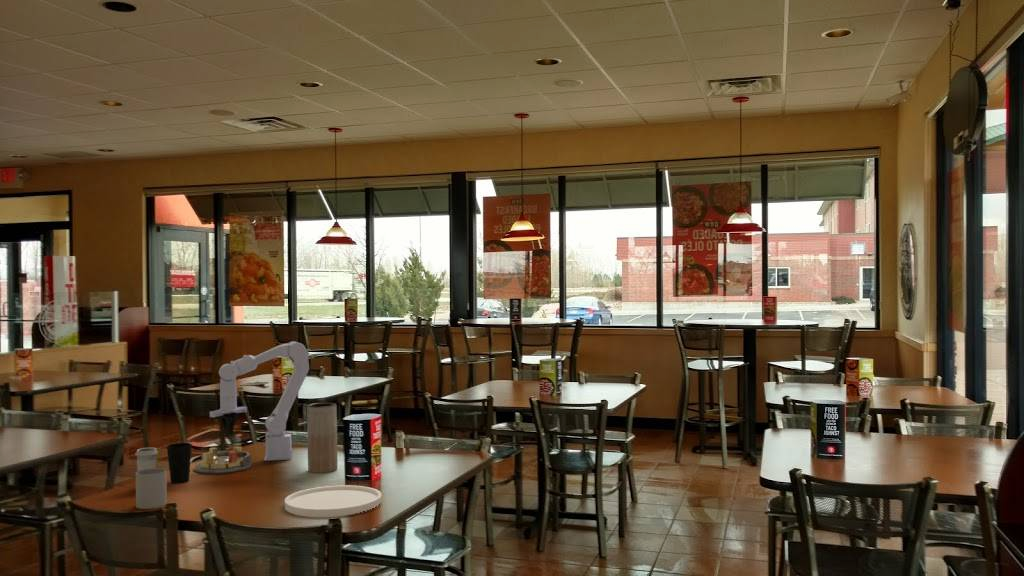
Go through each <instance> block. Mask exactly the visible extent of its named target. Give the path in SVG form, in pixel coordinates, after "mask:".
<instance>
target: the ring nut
mask: <svg viewBox="0 0 1024 576" xmlns="http://www.w3.org/2000/svg"><path fill="white" fill-rule="evenodd" d="M231 451H232V452H229V456H220V457H219V456H218V455H217V452H218V447H210V448H209V451H208V452H203V453H202V454H203V460H202V459H201V461H200V462H199V464H200V467H201V468H206V469H226V468H233V467H238V466H241V465H243V457H242V451H243V447H242V446H235V447H233V450H231ZM223 457H229V462H226V463H213V459H216V458H223Z"/></svg>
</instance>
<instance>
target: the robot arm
mask: <svg viewBox="0 0 1024 576" xmlns="http://www.w3.org/2000/svg"><path fill="white" fill-rule="evenodd" d="M278 357H280V358H289V359H290V361H291V363H292V365H293V367H294V370H293V372H292V374H291V376H290V378H289V380H288V382H287V385H286V386H285V389H284V390H283V392H282V395H281V397H280V399H279V401H278V403H277V404H276V407H274V409H273V411H272V412H271V414H270V415H269V416H267V418H266V419H265V421H264V426H265V428H266V433H265V456H264V458H263V461H280V460H281V461H287V460H291V458H292V456H293V448H292V446H293V445H292V443H293V442H292V439H293V438H292V434H291V433H289V434H288V433H286V429H287V421H288V419H289V412H290V411H291V409H292V407H293V404H294V402H295V401H296V398H297V396H298V394H299V392H300V390H301V387H302V385H303V383H304V381H305V379H306V377H307V375H308V372H309V370H310V362H309V352H308V349H307V348H306V346H305V345H304V344H303V343H302V342H301V343H300V342H298V341H290V342H287V343H286V342H285V343H283V344H279V345H277V346H275V347H273V348H270V349H268V350H266V351H263V352H261V353H259V354H258V355H251V354H248V355H247V354H244V355H243V356H242V357H241V358H238V359H236V360H230V362H229V363H224V364H223V365H221V366H220V368H219V371H218V375H219V377H220V381H219V382H220V385H219V390H220V391H219V402H220V403H219V404H220V405H219V407H220V408H219V409H216V410H212V411H209V418H217V417H218V419H219V421H220V422H221V424H222V426H223V428H224V433H225V435H227V436H231V435H233V433H234V428H235V425H236V423H237V420H238V419H239V414H241V413H247V412H248V406H238V401H237V400H238V399H237V398H238V396H237V395H238V394H237V393H238V392H237V391H238V390H237V389H238V388H237V386H238V385H237V377H238V376H239V377H240V376H242V375H246V374H248V373H249V372H252V371H255V370H256V369H257V368H258V365H260V364H263V363H264V362H267V361H270V360H273V359H276V358H278Z"/></svg>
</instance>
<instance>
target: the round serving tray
mask: <svg viewBox="0 0 1024 576" xmlns="http://www.w3.org/2000/svg"><path fill="white" fill-rule="evenodd" d="M232 451H233V450H222V451H217V455H218V456H219V457H220V456H229V452H232ZM251 456H252V455H251V454H250V452H248V451H243V450H242V457H243V465H241V466H238V467H233V468H226V469H206V468H201V467H200V463H198V464H196V465H195V466H194V472H196V473H198V474H205V475H220V474H231V473H237V472H241V471H245V470H248V469H250V468H251V467H252V461H251V460H252V457H251ZM202 460H203V453H202V454H201V461H202ZM226 462H229V457H223V458H216V459H213V463H226Z"/></svg>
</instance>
